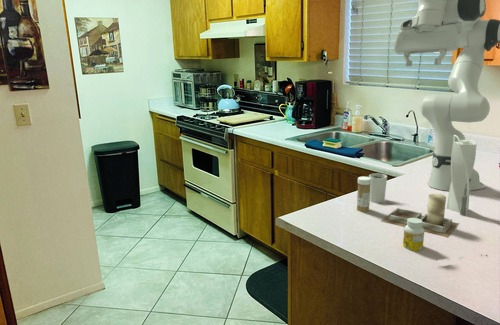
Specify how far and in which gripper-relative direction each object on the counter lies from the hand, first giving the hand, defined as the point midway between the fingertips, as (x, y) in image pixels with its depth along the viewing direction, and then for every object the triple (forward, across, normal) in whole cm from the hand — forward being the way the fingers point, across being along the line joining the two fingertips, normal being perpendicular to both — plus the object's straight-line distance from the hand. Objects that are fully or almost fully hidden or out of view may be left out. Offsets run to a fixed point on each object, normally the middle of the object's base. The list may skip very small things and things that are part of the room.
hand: (422, 65), depth 132 cm
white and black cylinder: (+48, +18, -18) cm, 54 cm away
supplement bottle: (+58, -11, +12) cm, 61 cm away
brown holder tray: (+53, -5, -5) cm, 53 cm away
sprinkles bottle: (+53, +14, -3) cm, 55 cm away
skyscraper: (+47, -10, -24) cm, 54 cm away
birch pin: (+51, -10, -5) cm, 52 cm away
